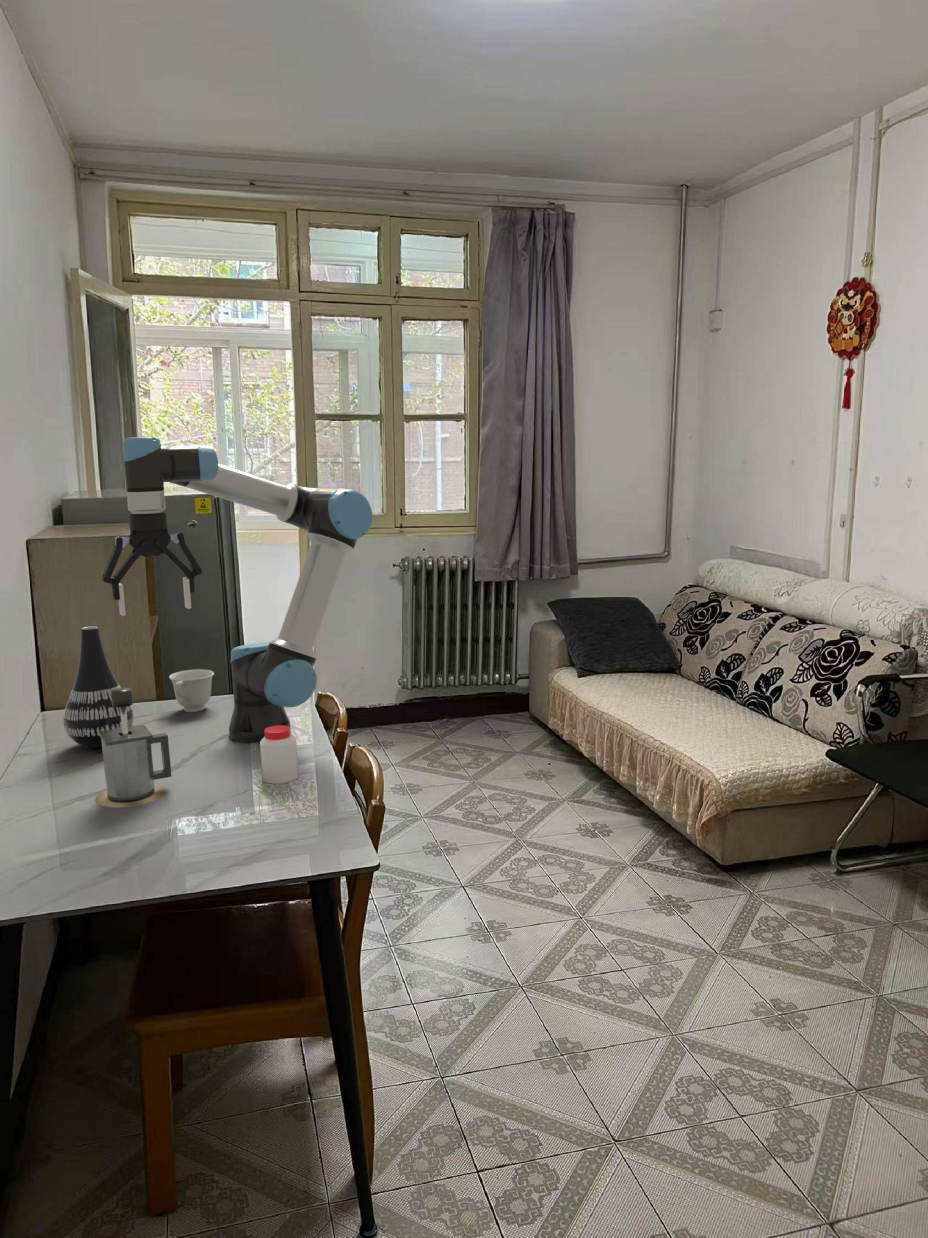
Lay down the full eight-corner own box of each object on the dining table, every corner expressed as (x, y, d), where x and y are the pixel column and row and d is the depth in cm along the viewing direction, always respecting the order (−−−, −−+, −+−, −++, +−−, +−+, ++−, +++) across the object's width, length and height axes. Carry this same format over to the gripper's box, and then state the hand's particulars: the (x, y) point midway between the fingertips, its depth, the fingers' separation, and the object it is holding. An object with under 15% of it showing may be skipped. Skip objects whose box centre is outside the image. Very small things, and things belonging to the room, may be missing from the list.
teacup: (158, 718, 249) (155, 682, 247) (184, 703, 263) (181, 668, 261) (200, 719, 247) (197, 682, 245) (223, 703, 261) (221, 669, 259)
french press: (166, 780, 199) (161, 721, 196) (176, 793, 191) (170, 732, 188) (104, 792, 192) (98, 731, 190) (111, 806, 185) (105, 743, 182)
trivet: (159, 781, 200) (159, 777, 200) (173, 801, 188) (173, 798, 188) (90, 794, 194) (90, 790, 193) (101, 816, 182) (100, 812, 181)
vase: (136, 732, 236) (125, 619, 231) (135, 751, 221) (123, 630, 216) (69, 740, 231) (57, 624, 226) (63, 759, 217) (50, 636, 211)
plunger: (144, 773, 195) (136, 684, 192) (151, 783, 189) (143, 691, 185) (108, 779, 192) (99, 689, 188) (114, 790, 185) (105, 697, 182)
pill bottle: (305, 774, 203) (302, 725, 201) (284, 785, 196) (281, 736, 194) (276, 769, 206) (273, 722, 204) (255, 781, 199) (251, 732, 197)
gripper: (202, 507, 203) (209, 602, 207) (81, 514, 191) (91, 615, 195) (211, 509, 197) (218, 607, 200) (86, 516, 185) (96, 620, 188)
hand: (156, 611), depth 198 cm, fingers open, 13 cm apart
